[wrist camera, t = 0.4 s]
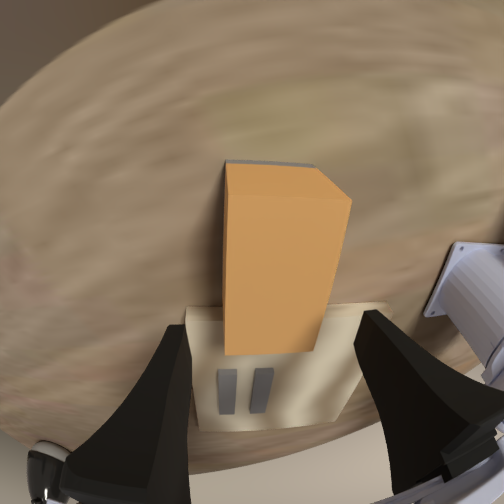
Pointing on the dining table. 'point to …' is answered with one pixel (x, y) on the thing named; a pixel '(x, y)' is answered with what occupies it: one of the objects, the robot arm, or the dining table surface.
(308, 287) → the block
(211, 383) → the board
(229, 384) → the graphite strip
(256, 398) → the graphite strip
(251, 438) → the dining table surface
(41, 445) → the black egg shaped device
